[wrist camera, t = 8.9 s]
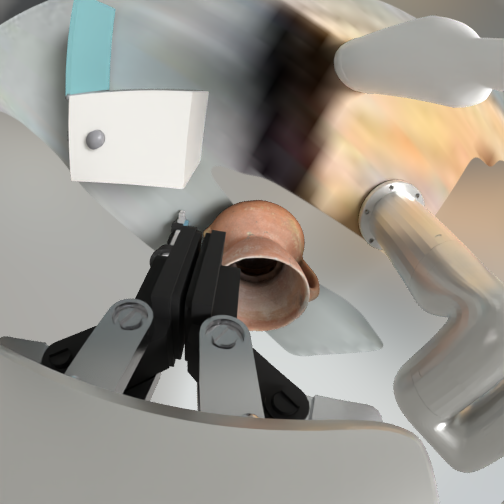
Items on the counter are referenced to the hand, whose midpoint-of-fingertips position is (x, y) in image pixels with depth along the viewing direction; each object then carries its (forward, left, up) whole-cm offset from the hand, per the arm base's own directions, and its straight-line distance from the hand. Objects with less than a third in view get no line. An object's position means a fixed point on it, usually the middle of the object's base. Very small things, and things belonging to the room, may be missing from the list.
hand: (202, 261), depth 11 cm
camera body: (+11, -1, -28) cm, 30 cm away
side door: (+20, -12, -27) cm, 36 cm away
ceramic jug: (-6, +15, -29) cm, 33 cm away
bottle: (-15, -14, -29) cm, 35 cm away
